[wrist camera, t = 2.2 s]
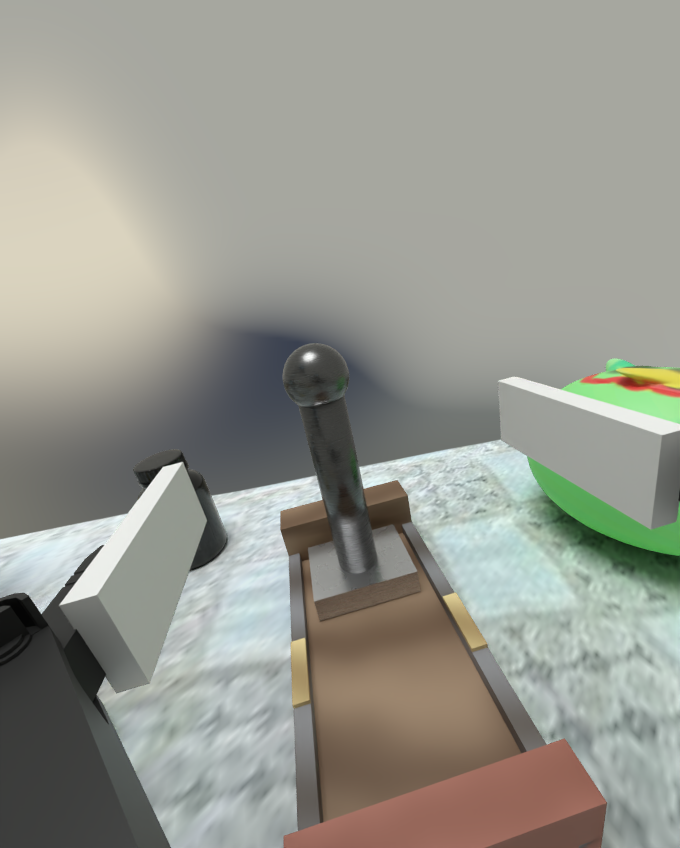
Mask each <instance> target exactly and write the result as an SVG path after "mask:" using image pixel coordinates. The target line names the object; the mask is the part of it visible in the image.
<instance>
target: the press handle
mask: <svg viewBox="0 0 680 848" xmlns="http://www.w3.org/2000/svg"><path fill="white" fill-rule="evenodd" d="M283 383H284V387H285V390H286V392H287V394H288V395H289V397H290V398H291V399H292V400H293V401H294V402H295V403H296V404H298V405H299V409H300V413H301V417H302V421H303V425H304V428H305V433H306V437H307V441H308V445H309V448H310V452H311V456H312V460H313V464H314V468H315V472H316V476H317V480H318V483H319V487H320V491H321V495H322V499H323V503H324V507H325V511H326V515H327V519H328V522H329V526H330V530H331V534H332V538H333V541H331V542H327V543H324V544H320V545H316V546H313V547H309V548H308V553H309V562H310V571H311V580H312V589H313V598H314V603H315V607H316V610H317V613H318V616H319V620H320V621H322V620H325V619H329V618H332V617H335V616H339V615H342V614H346V613H349V612H352V611H356V610H359V609H362V608H366V607H369V606H372V605H376V604H379V603H383V602H386V601H389V600H393V599H396V598H399V597H403V596H406V595H410V594H413V593H416V592H420V584H419V578H418V571H417V569H416V568H415V566H414V564H413V562H412V560H411V558H410V556H409V554H408V552H407V550H406V548H405V546H404V544H403V542H402V540H401V538H400V536H399V534H398V533H397V531H396V529H395V527H394V525H393V524H392V525H388V526H385V527H381V528H378V529H374V530H372V528H371V523H370V518H369V513H368V508H367V504H366V499H365V494H364V489H363V484H362V479H361V474H360V469H359V465H358V460H357V455H356V450H355V445H354V440H353V435H352V431H351V425H350V421H349V416H348V411H347V406H346V401H345V396H344V394H345V392H346V390H347V387H348V383H349V371H348V367H347V364H346V362H345V360H344V359H343V357H342V356H341V355H340V354H339V353H338V352H337V351H336V350H335V349H333V348H331V347H329V346H327V345H324V344H317V343H315V344H307V345H304V346H302V347H300V348H298V349H297V350H295V351H294V352H293V353H292V354H291V355H290V357H289V358H288V359H287V361H286V363H285V366H284V370H283Z"/></svg>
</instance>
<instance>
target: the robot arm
mask: <svg viewBox="0 0 680 848" xmlns="http://www.w3.org/2000/svg"><path fill="white" fill-rule="evenodd" d="M498 390H499V408H500V426H501V441H503V442H505V443H507V444H508V445H510V446H512V447H513V448H515V449H517V450H518V451H520V452H522V453H523V454H525V455H527V456H528V457H530V458H532V459H533V460H535V461H537V462H538V463H540V464H542V465H543V466H545V467H547V468H548V469H550V470H552V471H553V472H555V473H557V474H558V475H560V476H562V477H563V478H565V479H567V480H568V481H570V482H572V483H573V484H575V485H577V486H578V487H580V488H582V489H583V490H585V491H587V492H588V493H590V494H592V495H594V496H595V497H597V498H599V499H600V500H602V501H604V502H605V503H607V504H609V505H610V506H612V507H614V508H615V509H617V510H619V511H620V512H622V513H624V514H625V515H627V516H629V517H630V518H632V519H634V520H635V521H637V522H639V523H640V524H642V525H644V526H645V527H647V528H649V529H650V530H651V529H655V528H658V527H661V526H665V525H668V524H671V523H674V522H676V521H677V515H678V508H679V501H680V424H678V423H674V422H671V421H667V420H664V419H660V418H657V417H654V416H650V415H647V414H643V413H640V412H636V411H633V410H629V409H626V408H622V407H619V406H615V405H612V404H609V403H605V402H602V401H598V400H595V399H591V398H588V397H584V396H581V395H577V394H574V393H570V392H567V391H564V390H560V389H557V388H553V387H550V386H546V385H543V384H539V383H536V382H532V381H529V380H525V379H522V378H518V377H511V378H507V379H503V380H500V381H498ZM206 522H207V519H206V517H205V514H204V512H203V509H202V507H201V505H200V502H199V500H198V497H197V495H196V492H195V490H194V488H193V485H192V483H191V480H190V478H189V475H188V473H187V471H186V468H185V466H184V463H183V462H180V463H177V464H173V465H169V466H165V467H163V468H162V469H161V470H160V472H159V473H158V474H157V476H156V477H155V478H154V480H153V481H152V482H151V484H150V485H149V486H148V488H147V489H146V490H145V492H144V493H143V494H142V496H141V497H140V498H139V500H138V501H137V502H136V504H135V505H134V506H133V508H132V509H131V510H130V512H129V513H128V514H127V516H126V517H125V518H124V520H123V521H122V522H121V524H120V525H119V526H118V528H117V529H116V530H115V532H114V533H113V534H112V536H111V537H110V538H109V540H108V541H107V542H106V544H105V545H101V546H100V547H99V548H98V549H96V550H95V551H94V552H93V553H92V554H91V555H89V556H88V557H87V558H86V559H85V560H84V561H83V562H82V564H81V565H80V566H79V567H78V569H77V570H76V571H75V572H74V575H73V576H71V578H70V579H69V580H68V581H67V583H66V584H65V587H63V588H62V589H61V590H60V591H59V593H58V594H57V595H56V597H55V598H54V599H53V600H52V602H51V603H50V604H49V605H48V607H47V608H46V609H45V611H44V612H43V613H42V614H41V613H40V612H39V610H38V609H37V607H36V606H35V604H34V603H33V602H32V600H31V599H30V597H29V596H28V595H26V594H25V593H16V594H11V595H8V596H6V597H3V598H0V848H171V847H170V845H169V843H168V840H167V838H166V836H165V834H164V832H163V830H162V828H161V826H160V824H159V821H158V819H157V817H156V815H155V813H154V811H153V809H152V807H151V804H150V802H149V800H148V798H147V796H146V794H145V792H144V790H143V788H142V785H141V783H140V781H139V779H138V777H137V775H136V773H135V771H134V769H133V766H132V764H131V762H130V760H129V758H128V756H127V754H126V752H125V749H124V747H123V745H122V743H121V741H120V739H119V737H118V735H117V733H116V730H115V728H114V726H113V724H112V722H111V720H110V718H109V716H108V713H107V711H106V709H105V707H104V705H103V703H102V702H101V700H100V699H99V697H98V696H97V695H96V694H97V692H98V690H99V688H100V686H101V684H102V682H103V680H104V678H105V677H106V678H107V680H108V681H109V683H110V684H111V686H112V687H113V689H114V690H115V692H116V693H119V692H122V691H126V690H129V689H132V688H135V687H139V686H142V685H145V684H149V683H150V681H151V678H152V675H153V672H154V670H155V667H156V664H157V661H158V658H159V655H160V653H161V650H162V647H163V644H164V641H165V638H166V636H167V633H168V630H169V627H170V624H171V621H172V619H173V616H174V613H175V610H176V607H177V604H178V601H179V599H180V596H181V593H182V590H183V587H184V584H185V582H186V579H187V576H188V573H189V570H190V567H191V565H192V562H193V559H194V556H195V553H196V550H197V548H198V545H199V542H200V539H201V536H202V533H203V531H204V528H205V525H206Z"/></svg>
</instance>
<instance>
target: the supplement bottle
mask: <svg viewBox="0 0 680 848" xmlns="http://www.w3.org/2000/svg"><path fill="white" fill-rule="evenodd" d="M180 462H183V463H184V466H185V468H186V471H187V473H188V475H189V478H190V480H191V483H192V485H193V488H194V490H195V492H196V495H197V497H198V500H199V502H200V505H201V507H202V509H203V512H204V514H205V517H206V519H207V522H206V525H205V528H204V531H203V533H202V536H201V539H200V542H199V545H198V548H197V550H196V553H195V556H194V559H193V562H192V565H191V567H190V570H191V569H195V568H197V567H200V566H202V565H204V564H206V563H207V562H209V561H210V560H212V559H213V558H214V557H216V556H217V555H218V554H219V553H220V551H221V550H222V549H223V547H224V545H225V543H226V539H227V534H226V531H225V528H224V526H223V523H222V521H221V518H220V516H219V513H218V511H217V508H216V506H215V504H214V501H213V499H212V496H211V494H210V491H209V489H208V486H207V484H206V482H205V479H204V478H203V476H202V475H201V474H200V473H199V472H197V471H195V470H191V469H188V468H189V465H188V463H187V461H186V460H185V457H184V455H183V453H182V451H181V450H177V449H175V450H174V449H173V450H167V451H163V452H160V453H157V454H154V455H152V456H150V457H148V458H146V459H144V460H142V461H141V462H139V463H138V464H137V465H136V466H135V467H134V469H133V471H134V474H135V476H136V478H137V479H138V483H139V485H140V486H141V487H143V489H142V490H141V492H140V494H139V496H138V500H139V498H140V497H141V496H142V494H143V493H144V492H145V490H146V489H147V488H148V486H149V485H150V484H151V482H152V481H153V480H154V478H155V477H156V476H157V474H158V473H159V472H160V470H161V469H162V468H163V467H165V466H169V465H173V464H177V463H180ZM138 500H137V501H138Z"/></svg>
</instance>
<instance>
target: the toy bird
mask: <svg viewBox="0 0 680 848" xmlns="http://www.w3.org/2000/svg"><path fill="white" fill-rule="evenodd" d="M560 390H564V391H567V392H570V393H574V394H577V395H581V396H584V397H588V398H591V399H595V400H598V401H602V402H605V403H609V404H612V405H615V406H619V407H622V408H626V409H629V410H633V411H636V412H640V413H643V414H647V415H650V416H654V417H657V418H660V419H664V420H667V421H671V422H674V423H678V424H680V368H672V367H651V366H635V365H633V364H631V363H629V362H627V361H624V360H622V359H611V360H609V361H608V362H607V364H606V372H603V373H598V374H595V375H591V376H588V377H585V378H582V379H580V380H578V381H575V382H573V383H571V384H569V385H567V386H565V387H564V388H562V389H560ZM527 458H528V462H529V465H530V468H531V471H532V473H533V475H534V477H535V479H536V481H537V482H538V484H539V485H540V487H541V488H542V489H543V491H544V492H545V493H546V494H547V495H548V497H549V498H550V499H551V500H552V501H553V502H554V503H556V504H557V505H558V506H559V507H560V508H561V509H562V510H564V511H565V512H566V513H568V514H569V515H570V516H572V517H573V518H575V519H576V520H578V521H579V522H581V523H583V524H584V525H586V526H588V527H589V528H591V529H593V530H595V531H597V532H599V533H601V534H604V535H606V536H608V537H610V538H613V539H615V540H618V541H621V542H623V543H626V544H629V545H632V546H636V547H639V548H643V549H646V550H650V551H654V552H659V553H664V554H669V555H675V556H680V501H679V508H678V515H677V521H676V522H674V523H671V524H668V525H665V526H661V527H658V528H655V529H651V530H650V529H649V528H647V527H645V526H644V525H642V524H640V523H639V522H637V521H635V520H634V519H632V518H630V517H629V516H627V515H625V514H624V513H622V512H620V511H619V510H617V509H615V508H614V507H612V506H610V505H609V504H607V503H605V502H604V501H602V500H600V499H599V498H597V497H595V496H594V495H592V494H590V493H588V492H587V491H585V490H583V489H582V488H580V487H578V486H577V485H575V484H573V483H572V482H570V481H568V480H567V479H565V478H563V477H562V476H560V475H558V474H557V473H555V472H553V471H552V470H550V469H548V468H547V467H545V466H543V465H542V464H540V463H538V462H537V461H535V460H533V459H532V458H530V457H528V456H527Z"/></svg>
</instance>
